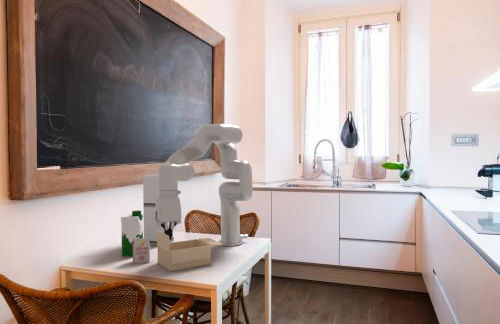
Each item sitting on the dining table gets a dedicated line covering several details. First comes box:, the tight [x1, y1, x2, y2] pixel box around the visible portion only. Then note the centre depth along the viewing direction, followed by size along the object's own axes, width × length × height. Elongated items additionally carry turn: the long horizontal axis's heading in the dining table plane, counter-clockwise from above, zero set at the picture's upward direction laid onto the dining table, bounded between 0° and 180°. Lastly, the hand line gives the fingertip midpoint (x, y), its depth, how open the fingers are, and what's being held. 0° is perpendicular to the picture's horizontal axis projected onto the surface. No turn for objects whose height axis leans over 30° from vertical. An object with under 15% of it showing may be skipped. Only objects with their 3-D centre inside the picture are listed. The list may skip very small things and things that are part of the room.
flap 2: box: [198, 237, 223, 247], centre depth 167 cm, size 1×13×6 cm
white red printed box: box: [132, 237, 151, 264], centre depth 164 cm, size 4×7×10 cm, turn 101°
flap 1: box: [157, 230, 170, 250], centre depth 156 cm, size 1×13×6 cm, turn 32°
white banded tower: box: [142, 174, 175, 246], centre depth 199 cm, size 11×11×35 cm
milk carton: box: [120, 210, 144, 258], centre depth 176 cm, size 9×9×20 cm
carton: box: [156, 238, 212, 273], centre depth 161 cm, size 18×15×8 cm
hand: (168, 238), depth 157 cm, fingers closed
